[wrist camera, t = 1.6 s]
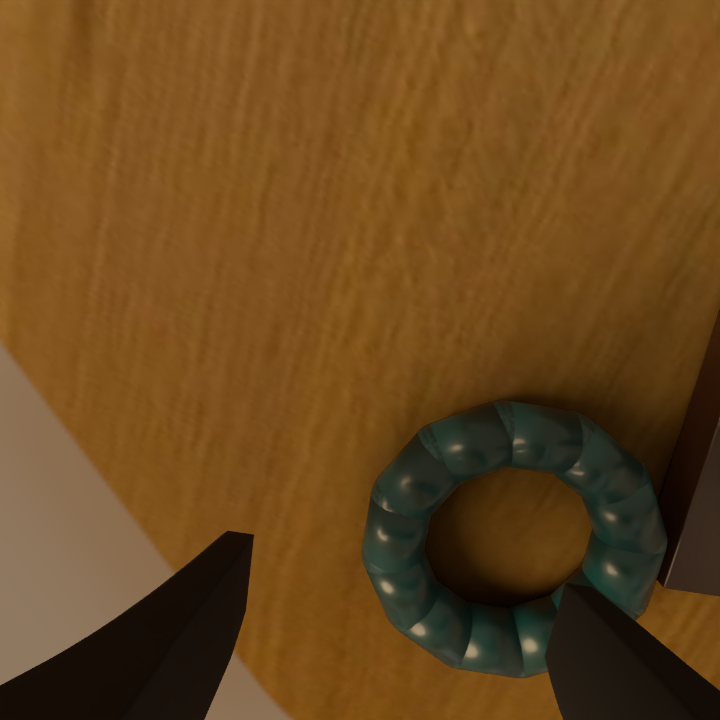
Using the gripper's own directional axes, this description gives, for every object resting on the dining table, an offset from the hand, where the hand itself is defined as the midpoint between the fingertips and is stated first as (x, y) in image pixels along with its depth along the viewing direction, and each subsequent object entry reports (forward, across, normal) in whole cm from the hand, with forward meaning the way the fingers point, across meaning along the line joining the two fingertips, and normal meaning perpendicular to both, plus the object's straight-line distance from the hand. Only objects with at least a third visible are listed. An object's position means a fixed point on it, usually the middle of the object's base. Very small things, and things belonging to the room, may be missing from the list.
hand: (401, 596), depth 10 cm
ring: (+3, -3, 0) cm, 4 cm away
